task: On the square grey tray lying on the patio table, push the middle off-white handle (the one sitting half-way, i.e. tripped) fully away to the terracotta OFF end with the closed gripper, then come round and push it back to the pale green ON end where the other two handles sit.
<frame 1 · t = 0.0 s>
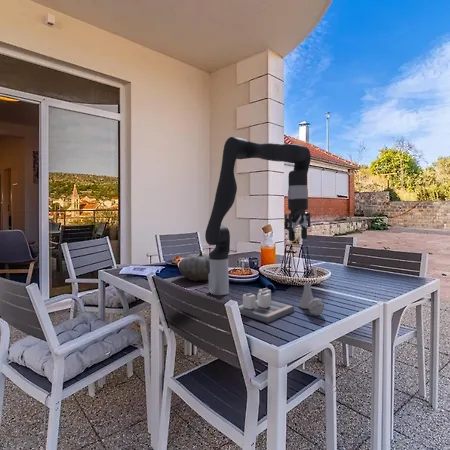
hand: (298, 239, 125), 29 cm above the table, fingers open, 8 cm apart
gourd: (199, 279, 190), on the table
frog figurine: (316, 316, 124), on the table
breaker A: (264, 295, 136), point 5 cm above the table, slide at -3.5 cm
breaker B tripped: (263, 299, 130), point 5 cm above the table, slide at 0.0 cm
square grey tray: (264, 311, 130), on the table
flask: (307, 307, 135), on the table
breaker C: (249, 300, 129), point 5 cm above the table, slide at -3.5 cm
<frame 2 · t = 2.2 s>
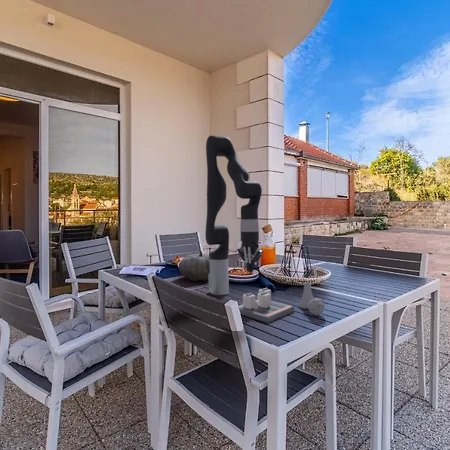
hand: (250, 271, 134), 15 cm above the table, fingers closed
nothing on the table moved.
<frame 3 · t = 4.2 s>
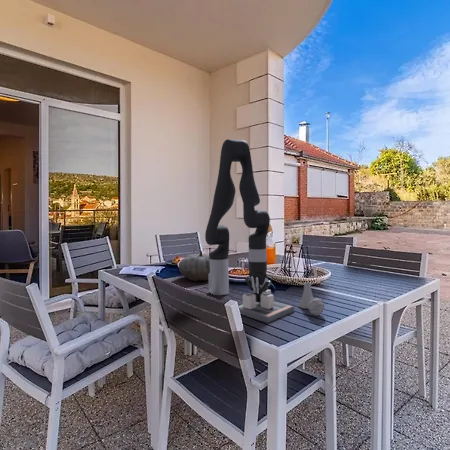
hand: (258, 301, 132), 4 cm above the table, fingers closed
breaker B tripped: (267, 300, 128), point 5 cm above the table, slide at 1.6 cm, touching gripper
everything else where it was.
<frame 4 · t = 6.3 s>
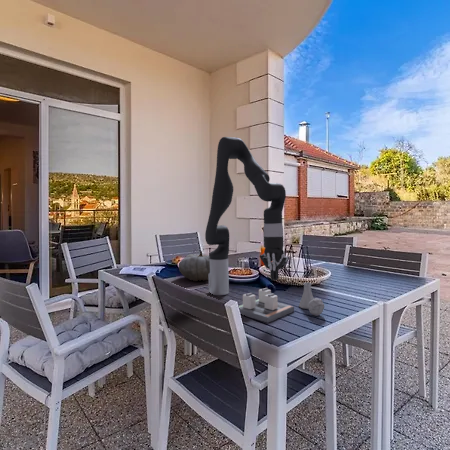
hand: (274, 279, 125), 14 cm above the table, fingers closed
breaker B tripped: (271, 301, 127), point 5 cm above the table, slide at 3.5 cm
everything else where it was.
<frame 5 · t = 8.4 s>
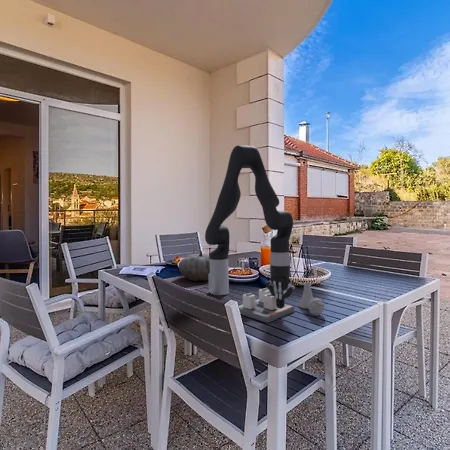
hand: (280, 307, 124), 3 cm above the table, fingers closed
breaker B tripped: (270, 301, 127), point 5 cm above the table, slide at 3.2 cm, touching gripper
everything else where it was.
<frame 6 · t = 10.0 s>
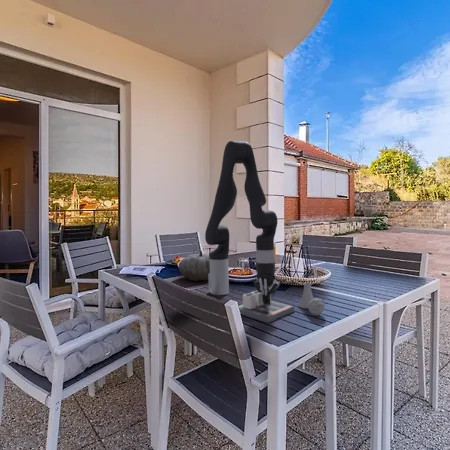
hand: (266, 303, 129), 4 cm above the table, fingers closed
breaker B tripped: (257, 297, 132), point 5 cm above the table, slide at -3.6 cm, touching gripper
everything else where it was.
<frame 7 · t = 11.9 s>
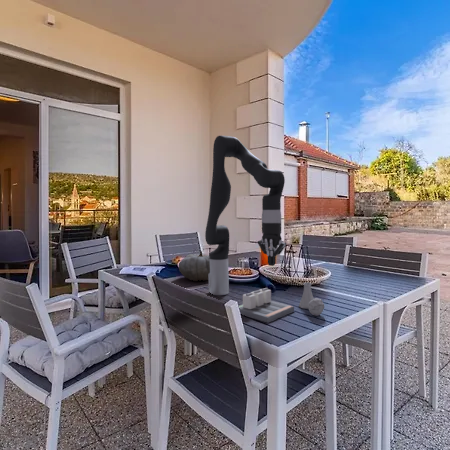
hand: (271, 265, 127), 19 cm above the table, fingers closed
breaker B tripped: (257, 297, 132), point 5 cm above the table, slide at -3.6 cm
everything else where it was.
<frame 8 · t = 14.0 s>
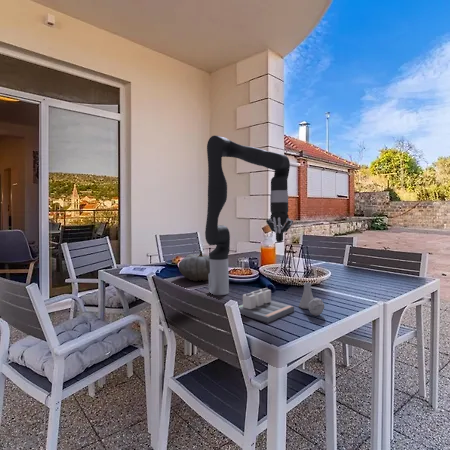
hand: (279, 241, 138), 27 cm above the table, fingers closed
nothing on the table moved.
at the end: breaker B tripped slide at -3.6 cm; breaker A slide at -3.5 cm; breaker C slide at -3.5 cm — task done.
